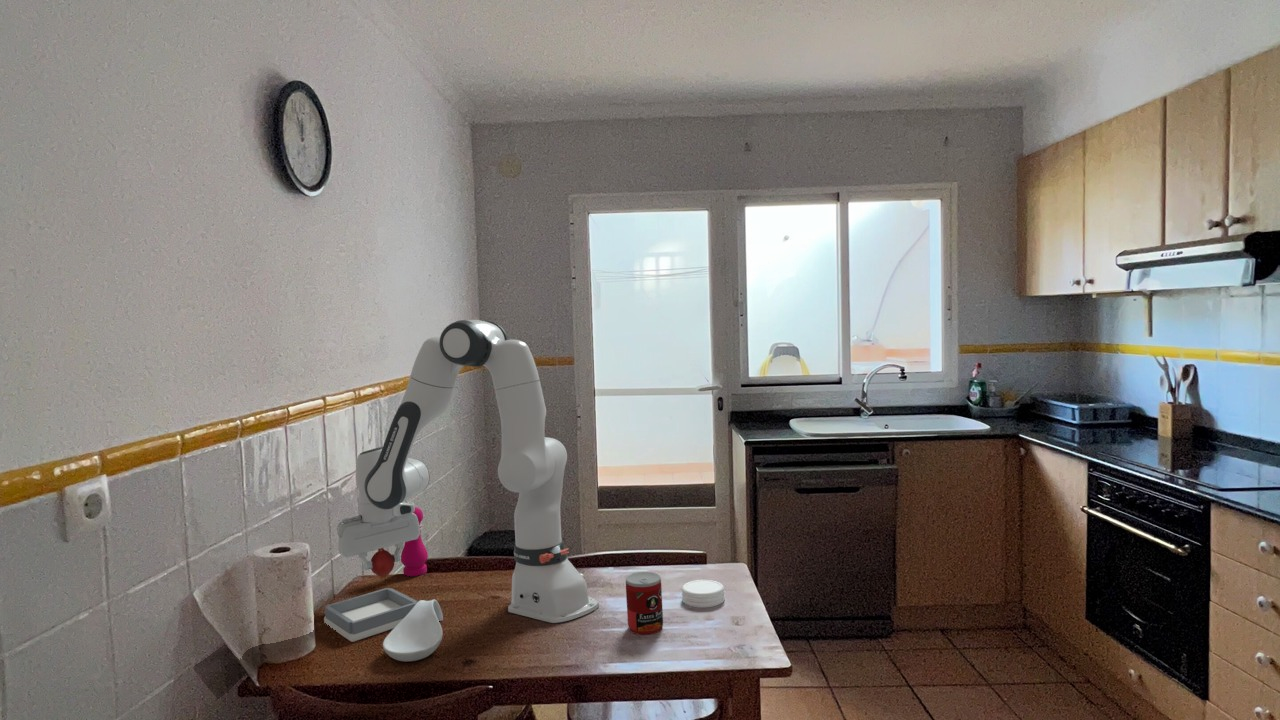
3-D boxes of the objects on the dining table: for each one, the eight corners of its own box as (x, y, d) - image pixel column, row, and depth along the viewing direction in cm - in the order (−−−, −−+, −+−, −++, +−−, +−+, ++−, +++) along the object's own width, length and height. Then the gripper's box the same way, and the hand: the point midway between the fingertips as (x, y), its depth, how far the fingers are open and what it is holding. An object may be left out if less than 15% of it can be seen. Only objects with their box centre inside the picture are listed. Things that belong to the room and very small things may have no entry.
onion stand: (420, 619, 167) (419, 602, 167) (352, 642, 156) (350, 623, 156) (390, 603, 179) (389, 587, 178) (324, 623, 168) (323, 606, 167)
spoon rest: (437, 667, 143) (435, 631, 142) (376, 672, 142) (374, 636, 141) (457, 620, 166) (455, 589, 166) (405, 624, 165) (403, 593, 165)
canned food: (638, 638, 151) (635, 586, 150) (621, 625, 158) (619, 576, 157) (670, 630, 154) (667, 579, 154) (652, 617, 161) (650, 569, 161)
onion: (375, 575, 187) (372, 544, 187) (398, 573, 187) (395, 542, 187) (368, 582, 181) (365, 551, 181) (392, 580, 181) (389, 549, 181)
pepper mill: (432, 568, 204) (428, 498, 204) (422, 577, 197) (418, 504, 197) (408, 568, 205) (404, 499, 204) (397, 577, 198) (392, 505, 197)
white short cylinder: (706, 590, 177) (706, 576, 177) (733, 601, 169) (732, 586, 169) (673, 600, 172) (673, 585, 172) (699, 612, 163) (698, 597, 163)
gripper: (341, 522, 174) (346, 578, 174) (420, 504, 188) (424, 556, 189) (331, 518, 179) (336, 574, 179) (409, 501, 193) (413, 552, 193)
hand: (382, 565), depth 184 cm, fingers closed on onion, 6 cm apart
